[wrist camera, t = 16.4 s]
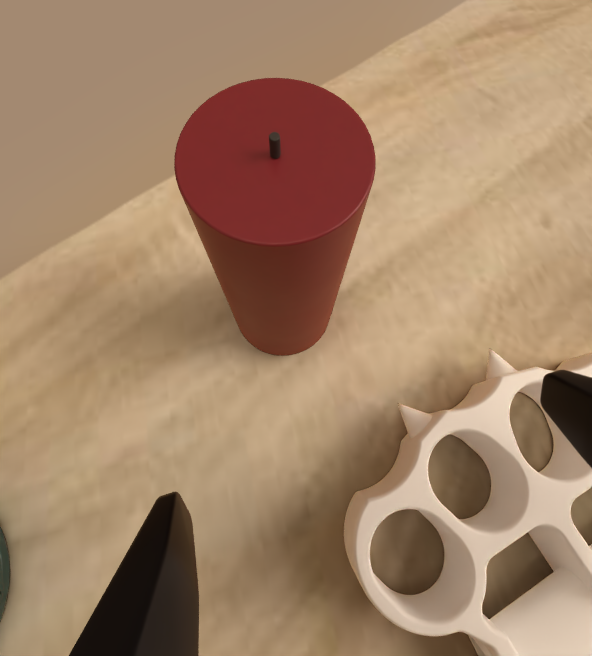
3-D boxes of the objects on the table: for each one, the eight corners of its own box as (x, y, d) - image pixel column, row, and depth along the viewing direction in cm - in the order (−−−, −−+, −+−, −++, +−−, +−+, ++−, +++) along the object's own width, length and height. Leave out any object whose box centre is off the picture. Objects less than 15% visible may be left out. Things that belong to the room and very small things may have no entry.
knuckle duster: (458, 766, 17) (295, 462, 21) (742, 541, 20) (555, 306, 24) (497, 840, 14) (296, 465, 18) (828, 559, 17) (597, 284, 20)
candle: (349, 318, 23) (426, 153, 10) (273, 375, 22) (249, 274, 9) (291, 250, 24) (293, 24, 11) (217, 301, 23) (125, 118, 10)
